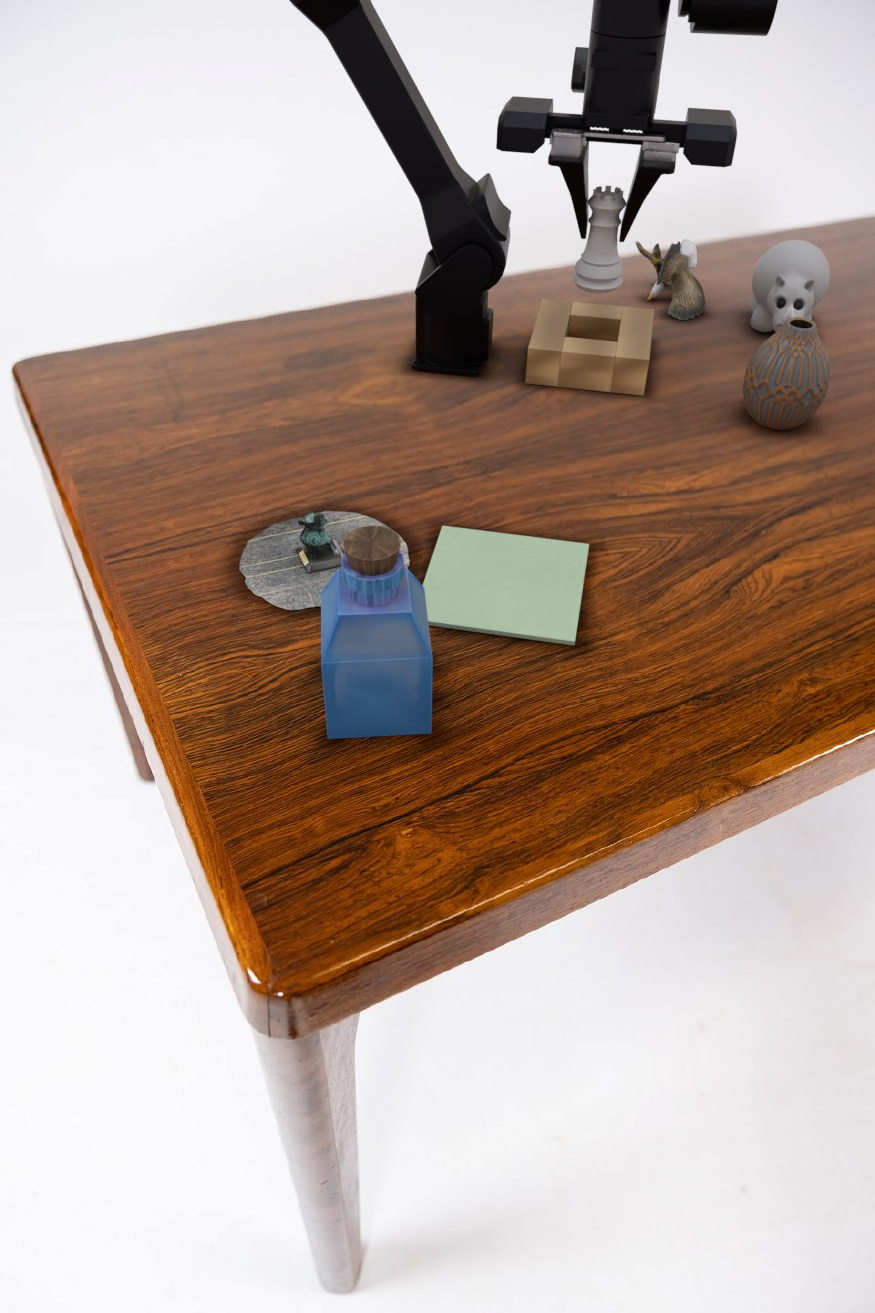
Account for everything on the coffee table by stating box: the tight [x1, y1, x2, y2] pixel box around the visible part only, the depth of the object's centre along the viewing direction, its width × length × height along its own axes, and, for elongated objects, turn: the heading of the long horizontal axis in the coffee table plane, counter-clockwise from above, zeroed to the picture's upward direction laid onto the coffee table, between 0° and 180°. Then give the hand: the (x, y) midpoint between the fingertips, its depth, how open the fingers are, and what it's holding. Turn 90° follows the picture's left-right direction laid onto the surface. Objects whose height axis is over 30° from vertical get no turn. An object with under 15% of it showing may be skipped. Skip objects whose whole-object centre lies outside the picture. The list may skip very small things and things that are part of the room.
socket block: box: [524, 298, 655, 397], centre depth 95 cm, size 11×11×4 cm
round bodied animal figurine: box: [749, 239, 831, 333], centre depth 98 cm, size 7×12×8 cm, turn 163°
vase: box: [742, 317, 831, 431], centre depth 86 cm, size 7×7×9 cm
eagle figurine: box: [635, 238, 706, 321], centre depth 105 cm, size 8×7×9 cm
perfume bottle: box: [320, 526, 434, 740], centre depth 59 cm, size 6×6×12 cm
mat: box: [421, 525, 590, 647], centre depth 71 cm, size 11×11×1 cm
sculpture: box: [238, 510, 411, 611], centre depth 73 cm, size 12×9×8 cm
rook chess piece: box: [572, 185, 627, 294], centre depth 87 cm, size 4×4×8 cm
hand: (602, 238), depth 87 cm, fingers closed on rook chess piece, 3 cm apart
